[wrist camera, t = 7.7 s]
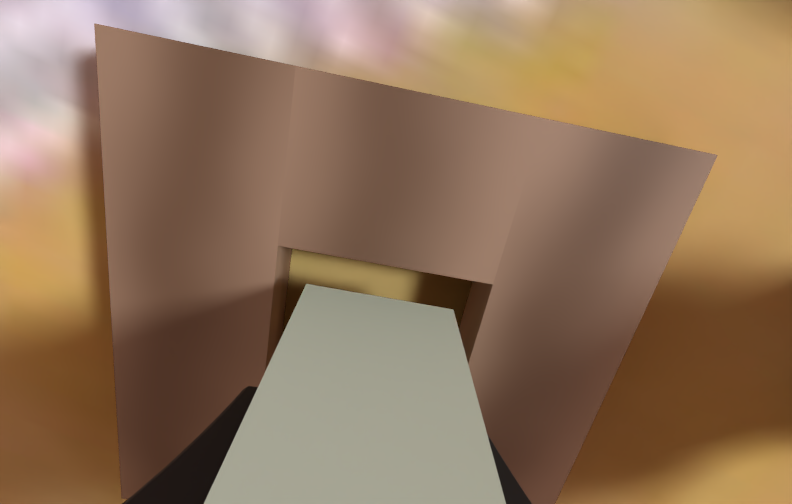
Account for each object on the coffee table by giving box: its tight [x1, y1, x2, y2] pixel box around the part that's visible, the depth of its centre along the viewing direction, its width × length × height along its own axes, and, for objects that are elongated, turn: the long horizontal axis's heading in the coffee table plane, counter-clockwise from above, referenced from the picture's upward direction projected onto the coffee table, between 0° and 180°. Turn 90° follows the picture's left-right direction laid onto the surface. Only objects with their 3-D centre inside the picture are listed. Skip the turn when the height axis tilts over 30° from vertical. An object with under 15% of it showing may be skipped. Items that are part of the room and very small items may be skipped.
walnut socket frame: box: [94, 24, 717, 504], centre depth 13 cm, size 15×15×2 cm
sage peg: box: [204, 284, 506, 504], centre depth 8 cm, size 4×4×8 cm
